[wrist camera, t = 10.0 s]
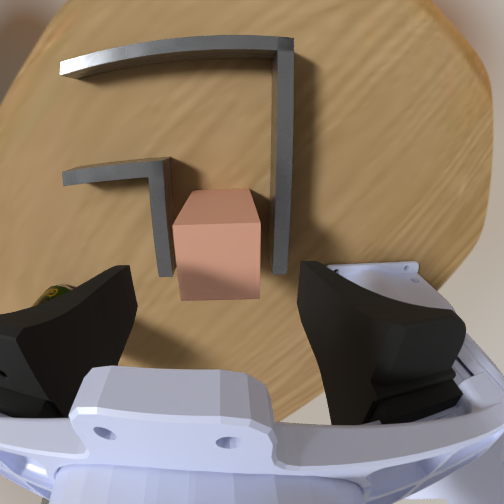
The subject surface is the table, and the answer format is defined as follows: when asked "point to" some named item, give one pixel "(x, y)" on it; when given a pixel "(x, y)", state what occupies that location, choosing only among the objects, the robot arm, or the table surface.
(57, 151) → the table surface
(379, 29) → the table surface
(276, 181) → the channel rails
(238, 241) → the terracotta block
